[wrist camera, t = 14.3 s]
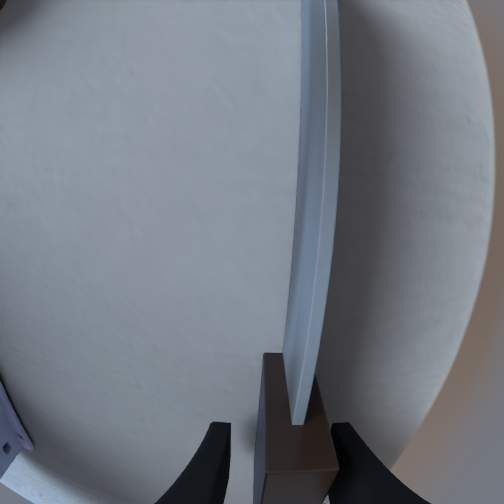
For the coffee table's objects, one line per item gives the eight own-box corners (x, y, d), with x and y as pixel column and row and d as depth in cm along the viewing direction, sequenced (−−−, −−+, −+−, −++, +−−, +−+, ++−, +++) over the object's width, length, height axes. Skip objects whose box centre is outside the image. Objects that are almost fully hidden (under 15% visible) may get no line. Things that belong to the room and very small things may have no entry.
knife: (289, 456, 11) (297, 547, 6) (254, 456, 11) (251, 548, 6) (326, -34, 6) (358, -124, 2) (282, -39, 6) (292, -135, 2)
